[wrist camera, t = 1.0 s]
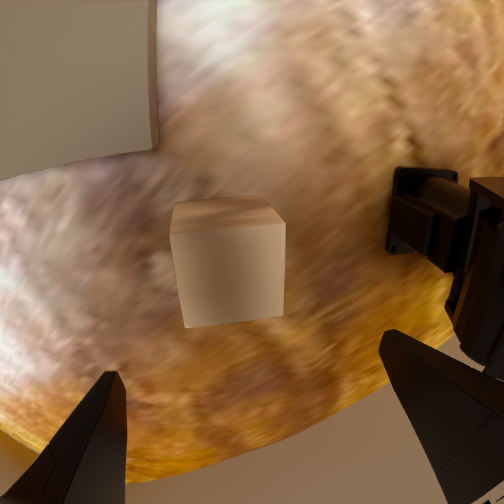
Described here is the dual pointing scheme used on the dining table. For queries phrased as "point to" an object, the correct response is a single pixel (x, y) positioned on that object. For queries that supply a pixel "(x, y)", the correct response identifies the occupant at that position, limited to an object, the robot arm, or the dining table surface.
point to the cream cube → (228, 260)
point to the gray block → (75, 81)
